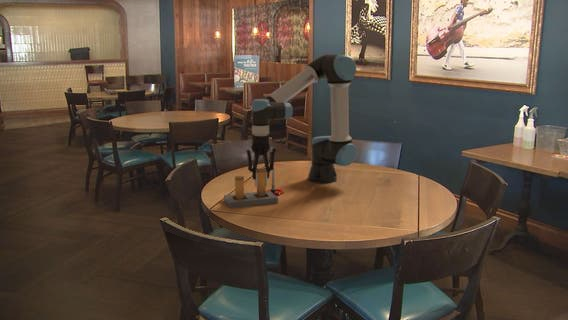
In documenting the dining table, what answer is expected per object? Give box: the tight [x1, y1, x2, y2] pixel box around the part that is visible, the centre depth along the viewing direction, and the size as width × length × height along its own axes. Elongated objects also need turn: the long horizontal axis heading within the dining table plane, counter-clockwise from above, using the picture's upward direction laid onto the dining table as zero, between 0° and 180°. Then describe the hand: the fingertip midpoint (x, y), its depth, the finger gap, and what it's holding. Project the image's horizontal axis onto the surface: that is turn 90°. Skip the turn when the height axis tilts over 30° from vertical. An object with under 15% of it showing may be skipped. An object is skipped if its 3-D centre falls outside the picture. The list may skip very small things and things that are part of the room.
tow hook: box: [266, 168, 285, 197], centre depth 234 cm, size 8×13×9 cm
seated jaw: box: [234, 175, 245, 200], centre depth 218 cm, size 4×4×12 cm
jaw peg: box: [256, 167, 267, 196], centre depth 220 cm, size 4×4×12 cm
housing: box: [223, 190, 279, 209], centre depth 220 cm, size 22×12×2 cm, turn 108°
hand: (261, 185), depth 221 cm, fingers closed on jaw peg, 4 cm apart
